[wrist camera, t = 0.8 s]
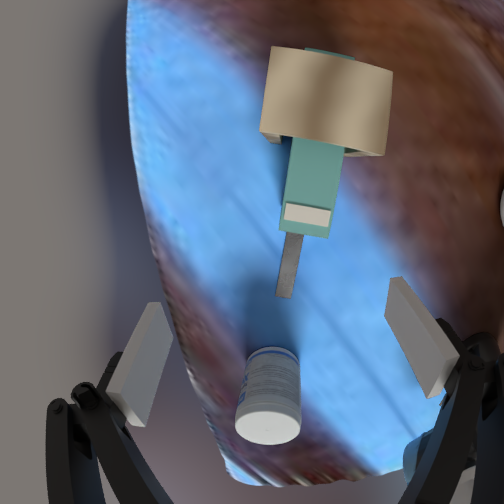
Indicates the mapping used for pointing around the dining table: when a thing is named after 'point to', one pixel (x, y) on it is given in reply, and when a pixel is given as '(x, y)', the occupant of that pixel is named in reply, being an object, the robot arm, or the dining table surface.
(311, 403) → the dining table surface
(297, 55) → the tunnel
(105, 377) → the robot arm
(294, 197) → the beige-capped teal block
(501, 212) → the flower in vase
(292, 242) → the rail
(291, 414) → the supplement tub
